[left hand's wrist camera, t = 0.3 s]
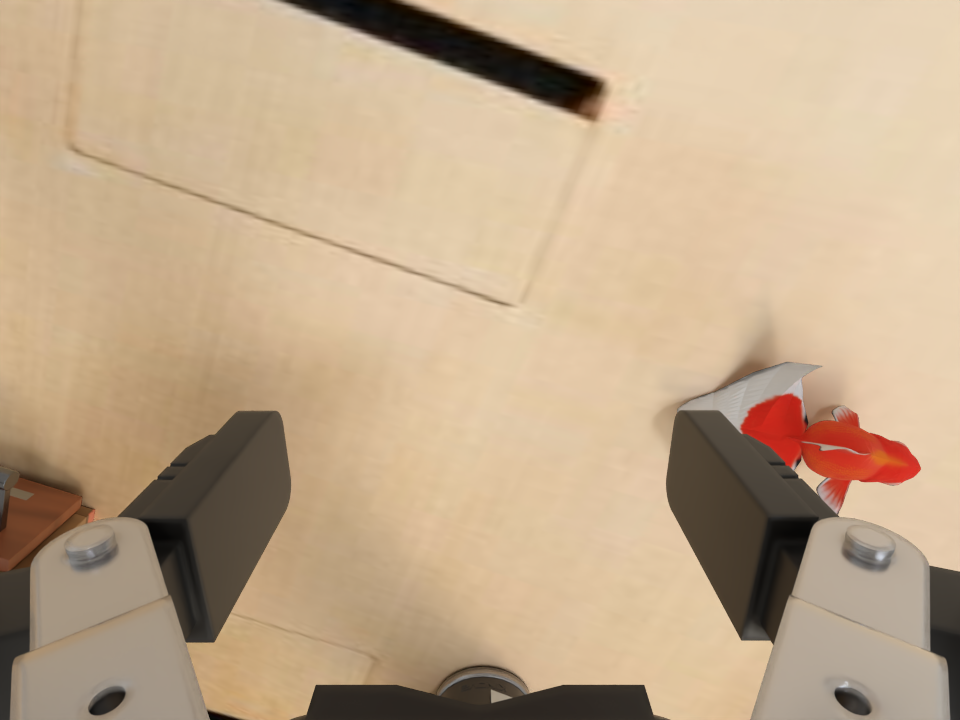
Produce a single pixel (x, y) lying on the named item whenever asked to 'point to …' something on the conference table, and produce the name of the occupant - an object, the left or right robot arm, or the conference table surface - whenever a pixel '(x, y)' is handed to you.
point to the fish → (808, 432)
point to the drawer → (29, 515)
